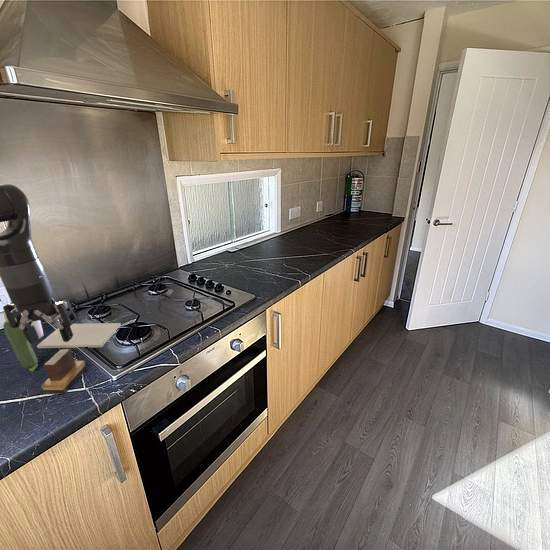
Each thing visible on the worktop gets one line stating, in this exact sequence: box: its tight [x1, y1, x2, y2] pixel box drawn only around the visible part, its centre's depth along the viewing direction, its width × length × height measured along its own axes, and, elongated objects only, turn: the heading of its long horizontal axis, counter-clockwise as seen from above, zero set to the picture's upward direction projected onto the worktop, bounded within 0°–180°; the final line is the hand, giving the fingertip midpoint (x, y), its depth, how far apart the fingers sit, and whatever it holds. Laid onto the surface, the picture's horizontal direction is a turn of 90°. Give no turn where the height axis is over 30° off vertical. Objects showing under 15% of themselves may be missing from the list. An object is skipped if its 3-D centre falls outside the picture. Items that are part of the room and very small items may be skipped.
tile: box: [36, 322, 122, 349], centre depth 94 cm, size 20×12×1 cm, turn 89°
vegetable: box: [3, 311, 39, 372], centre depth 77 cm, size 4×4×20 cm
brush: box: [41, 348, 87, 395], centre depth 74 cm, size 9×5×8 cm, turn 179°
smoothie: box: [21, 313, 45, 340], centre depth 92 cm, size 6×6×14 cm
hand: (51, 340), depth 71 cm, fingers open, 8 cm apart
